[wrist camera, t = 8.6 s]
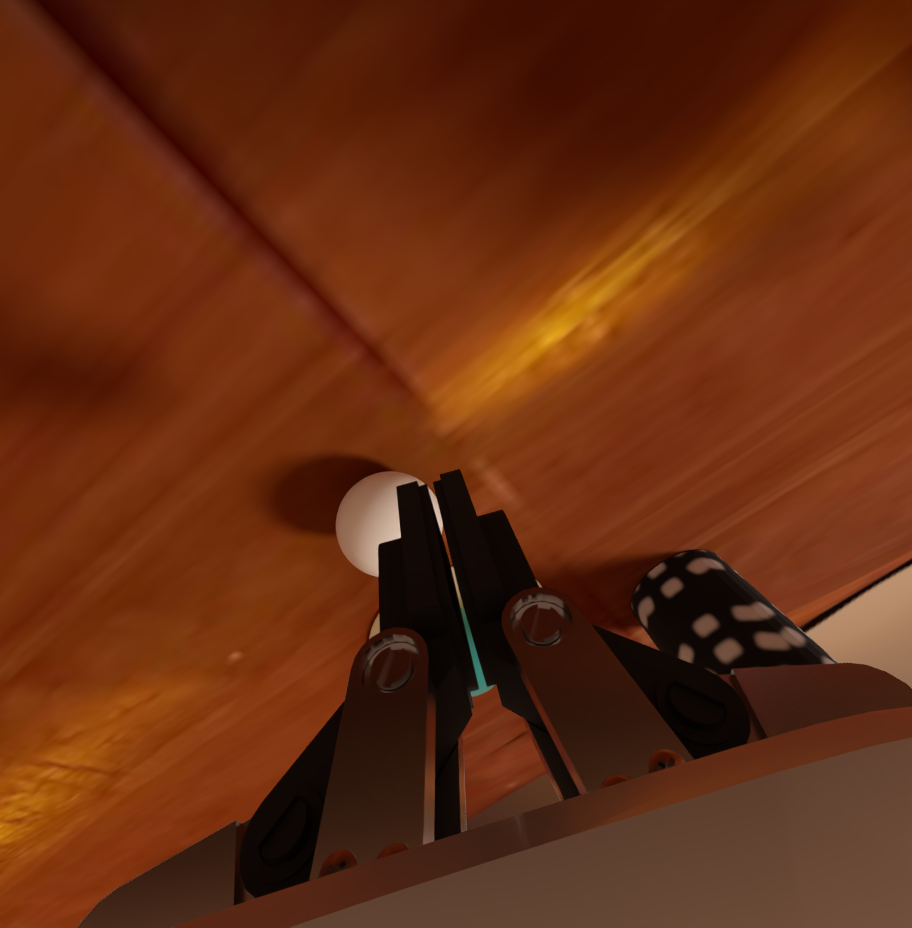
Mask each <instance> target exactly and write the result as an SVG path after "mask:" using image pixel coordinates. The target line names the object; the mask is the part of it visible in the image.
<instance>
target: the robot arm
mask: <svg viewBox="0 0 912 928" xmlns="http://www.w3.org/2000/svg"><path fill="white" fill-rule="evenodd" d="M440 478H441V480H439V481H435V482H433V484H434V489H435V493H436V497H437V501H438V505H439V509H440V514H441V518H442V522H443V526H444V530H445V534H446V539H447V543H448V547H449V551H450V555H451V559H452V563H453V568H454V572H455V576H456V580H457V584H458V588H459V592H460V596H461V600H462V603H463V607H464V610H465V614H466V617H467V621H468V624H469V628H470V631H471V634H472V638H473V641H474V645H475V648H476V651H477V655H478V658H479V662H480V665H481V669H482V672H483V675H484V679H485V682H486V686H487V687H489V686H492V685H495V684H497V688H498V692H499V695H500V699H501V702H502V706H504V707H505V708H507V709H509V710H511V711H512V712H514V713H516V714H518V715H519V716H521V717H523V720H524V723H525V726H526V728H527V730H528V732H529V734H530V737H531V739H532V741H533V743H534V745H535V747H536V749H537V752H538V754H539V756H540V758H541V760H542V762H543V764H544V767H545V769H546V771H547V773H548V775H549V777H550V779H551V781H552V784H553V786H554V788H555V790H556V792H557V794H558V797H559V799H560V802H557V803H554V804H551V805H548V806H544V807H541V808H538V809H535V810H532V811H529V812H525V813H522V814H519V815H516V816H513V817H510V818H507V819H503V820H500V821H497V822H494V823H490V824H487V825H485V826H481V827H478V828H475V829H472V830H468V831H467V827H466V802H465V777H464V752H463V740H462V732H463V730H464V729H465V727H466V725H467V723H468V722H469V720H470V718H471V716H472V711H471V708H474V707H473V702H472V697H471V693H470V692H472V691H475V690H479V686H478V681H477V677H476V672H475V668H474V664H473V660H472V655H471V651H470V647H469V642H468V638H467V634H466V630H465V625H464V621H463V617H462V612H461V608H460V604H459V600H458V595H457V591H456V587H455V582H454V578H453V574H452V570H451V566H450V562H449V558H448V555H447V552H446V548H445V545H444V541H443V538H442V535H441V531H440V528H439V524H438V521H437V517H436V514H435V511H434V507H433V504H432V500H431V497H430V494H429V490H428V487H427V484H424V485H421V486H419V484H418V482H417V481H414V482H410V483H407V484H403V485H399V486H397V487H396V490H397V501H398V511H399V522H400V532H401V538H398V539H395V540H391V541H388V542H384V543H380V544H379V546H378V572H379V622H380V633H378V634H376V635H375V636H373V637H371V638H370V639H369V640H368V641H367V642H366V643H365V644H364V645H363V646H362V647H361V649H360V650H359V652H358V653H357V655H356V656H355V658H354V661H353V664H352V667H351V671H350V676H349V681H348V686H347V691H346V696H345V701H344V702H343V703H342V705H341V706H340V707H339V708H338V709H337V711H336V712H335V713H334V714H333V716H332V717H331V718H330V719H329V721H328V722H327V723H326V724H325V725H324V727H323V728H322V729H321V730H320V732H319V733H318V734H317V735H316V737H315V738H314V739H313V740H312V741H311V743H310V744H309V745H308V746H307V748H306V749H305V750H304V751H303V753H302V754H301V755H300V756H299V758H298V759H297V760H296V761H295V762H294V764H293V765H292V766H291V767H290V769H289V770H288V771H287V772H286V774H285V775H284V776H283V777H282V778H281V780H280V781H279V782H278V783H277V785H276V786H275V787H274V788H273V790H272V791H271V792H270V793H269V794H268V796H267V797H266V798H265V799H264V801H263V802H262V803H261V805H260V806H259V808H258V809H257V811H256V812H255V814H254V815H253V817H252V818H250V819H249V820H247V821H245V822H244V823H242V824H241V823H240V822H238V821H237V820H235V821H234V822H232V823H230V824H228V825H227V826H225V827H223V828H221V829H220V830H218V831H216V832H214V833H213V834H211V835H209V836H207V837H206V838H204V839H202V840H200V841H199V842H197V843H195V844H193V845H192V846H190V847H188V848H186V849H185V850H183V851H181V852H180V853H178V854H176V855H174V856H173V857H171V858H169V859H167V860H166V861H164V862H162V863H160V864H159V865H157V866H155V867H153V868H152V869H150V870H148V871H146V872H145V873H143V874H141V875H139V876H138V877H136V878H134V879H132V880H131V881H129V882H127V883H125V884H124V885H122V886H120V887H119V888H117V889H115V890H114V891H113V892H111V893H110V894H109V895H108V896H106V897H105V898H104V899H102V900H101V901H100V902H98V904H97V905H96V906H95V907H94V908H93V909H92V910H91V912H90V913H89V914H88V915H87V916H86V917H85V918H84V919H83V921H82V922H81V923H80V925H79V926H78V928H912V689H911V687H909V686H908V685H907V684H906V683H904V682H903V681H901V680H899V679H898V678H896V677H894V676H892V675H891V674H889V673H887V672H885V671H882V670H880V669H877V668H874V667H871V666H868V665H864V664H854V663H835V664H815V665H795V666H775V667H755V668H736V669H732V670H731V674H725V675H716V674H714V673H712V672H710V671H708V670H706V669H704V668H702V667H700V666H697V665H695V664H692V663H689V662H687V661H684V660H682V659H679V658H677V657H674V656H671V655H669V654H666V653H664V652H661V651H659V650H656V649H653V648H651V647H648V646H646V645H643V644H641V643H638V642H635V641H633V640H630V639H628V638H625V637H623V636H620V635H617V634H615V633H612V632H610V631H607V630H605V629H602V628H599V627H597V626H594V625H592V624H591V623H590V622H589V621H588V620H587V618H586V617H585V616H584V614H583V613H582V612H581V610H580V609H579V608H578V606H577V605H576V604H575V603H574V602H573V601H572V600H571V599H570V598H569V597H568V596H567V595H565V594H564V593H562V592H560V591H558V590H555V589H551V588H546V587H539V586H538V583H537V581H536V579H535V577H534V575H533V573H532V571H531V568H530V566H529V564H528V562H527V560H526V558H525V555H524V553H523V551H522V549H521V547H520V545H519V543H518V540H517V538H516V536H515V534H514V532H513V530H512V528H511V525H510V523H509V521H508V519H507V517H506V515H505V513H504V511H503V510H499V511H496V512H492V513H488V514H485V515H481V516H478V517H477V515H476V512H475V509H474V506H473V504H472V501H471V498H470V495H469V493H468V490H467V487H466V484H465V482H464V479H463V476H462V473H461V471H460V469H458V470H455V471H451V472H447V473H444V474H440Z"/></svg>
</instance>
